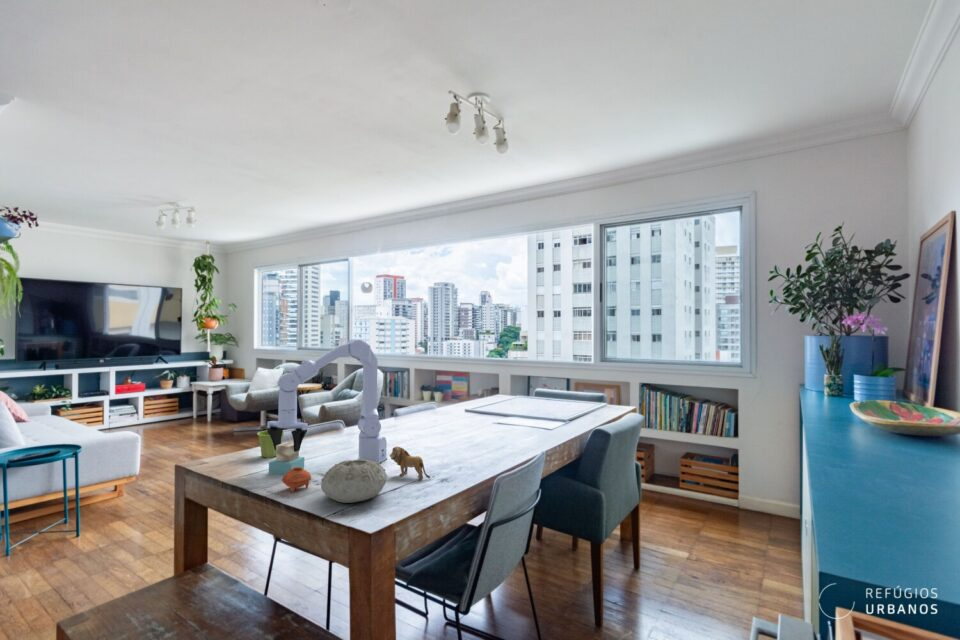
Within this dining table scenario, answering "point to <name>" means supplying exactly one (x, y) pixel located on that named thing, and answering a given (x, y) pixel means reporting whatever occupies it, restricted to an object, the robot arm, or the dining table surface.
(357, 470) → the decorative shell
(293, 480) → the pot
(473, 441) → the dining table surface
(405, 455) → the lion figurine
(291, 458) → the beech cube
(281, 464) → the teal base block
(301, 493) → the dining table surface
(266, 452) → the plant pot
